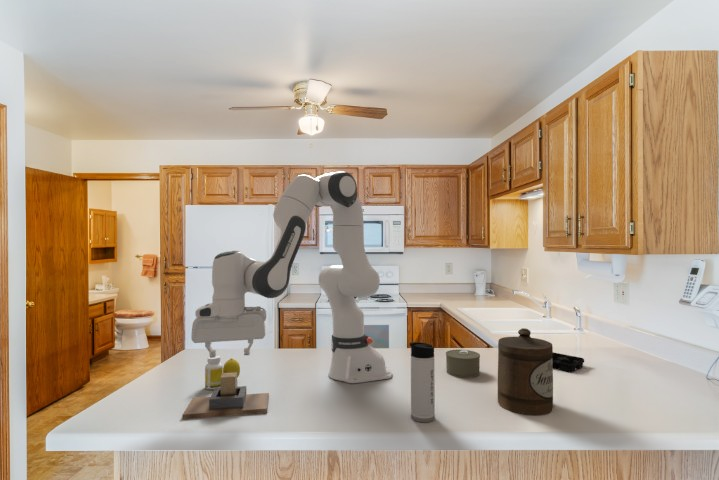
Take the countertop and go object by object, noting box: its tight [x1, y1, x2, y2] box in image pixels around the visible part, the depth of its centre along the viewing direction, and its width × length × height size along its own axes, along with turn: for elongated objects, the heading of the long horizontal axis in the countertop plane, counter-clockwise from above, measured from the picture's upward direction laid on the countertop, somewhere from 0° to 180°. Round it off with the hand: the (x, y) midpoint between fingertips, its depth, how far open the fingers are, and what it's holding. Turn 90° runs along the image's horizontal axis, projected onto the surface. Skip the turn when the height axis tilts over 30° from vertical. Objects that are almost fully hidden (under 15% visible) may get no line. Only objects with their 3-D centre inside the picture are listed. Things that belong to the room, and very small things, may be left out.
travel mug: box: [409, 341, 436, 423], centre depth 109 cm, size 6×7×20 cm
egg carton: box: [552, 351, 585, 374], centre depth 161 cm, size 18×30×4 cm, turn 54°
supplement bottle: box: [204, 355, 224, 391], centre depth 133 cm, size 5×5×10 cm
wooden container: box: [497, 327, 554, 416], centre depth 118 cm, size 15×15×22 cm
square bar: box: [221, 372, 238, 397], centre depth 117 cm, size 4×4×8 cm
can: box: [445, 349, 481, 379], centre depth 147 cm, size 12×12×7 cm
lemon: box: [223, 358, 241, 379], centre depth 138 cm, size 6×6×8 cm
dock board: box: [182, 392, 270, 420], centre depth 117 cm, size 22×12×1 cm, turn 100°
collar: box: [209, 385, 247, 410], centre depth 117 cm, size 9×9×3 cm
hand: (230, 356), depth 117 cm, fingers open, 8 cm apart
